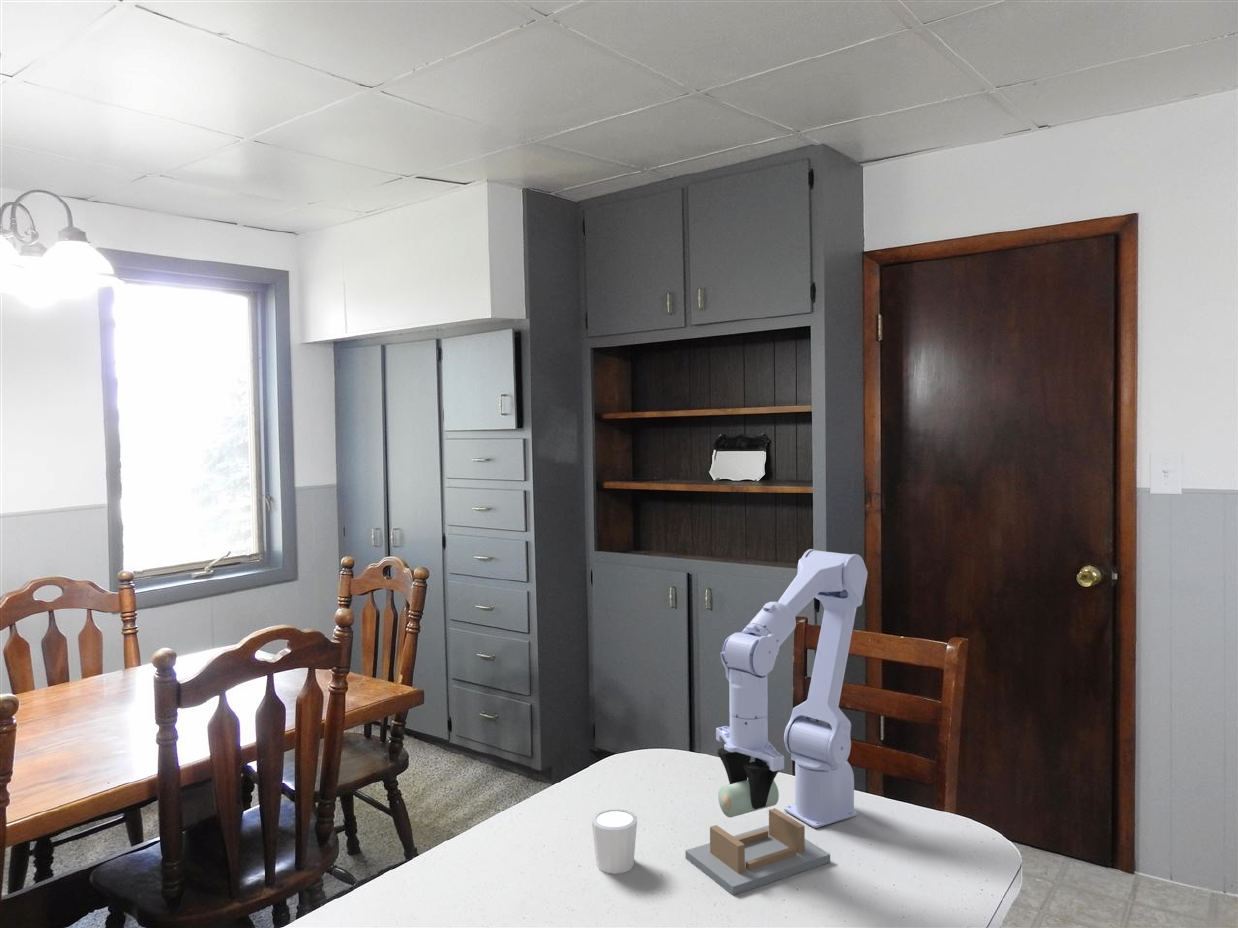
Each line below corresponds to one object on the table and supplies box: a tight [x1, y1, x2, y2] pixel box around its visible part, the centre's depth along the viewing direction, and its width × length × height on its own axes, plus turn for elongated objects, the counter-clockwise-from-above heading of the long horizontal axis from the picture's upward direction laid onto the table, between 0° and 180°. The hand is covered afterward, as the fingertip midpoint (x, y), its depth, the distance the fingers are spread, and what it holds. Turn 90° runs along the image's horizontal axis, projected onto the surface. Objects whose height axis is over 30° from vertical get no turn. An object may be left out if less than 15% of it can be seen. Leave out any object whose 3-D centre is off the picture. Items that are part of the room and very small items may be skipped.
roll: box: [717, 779, 780, 818], centre depth 135 cm, size 8×4×4 cm, turn 118°
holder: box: [684, 807, 831, 896], centre depth 133 cm, size 18×12×5 cm, turn 119°
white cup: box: [591, 808, 638, 874], centre depth 133 cm, size 7×7×7 cm
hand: (748, 800), depth 135 cm, fingers closed on roll, 4 cm apart
